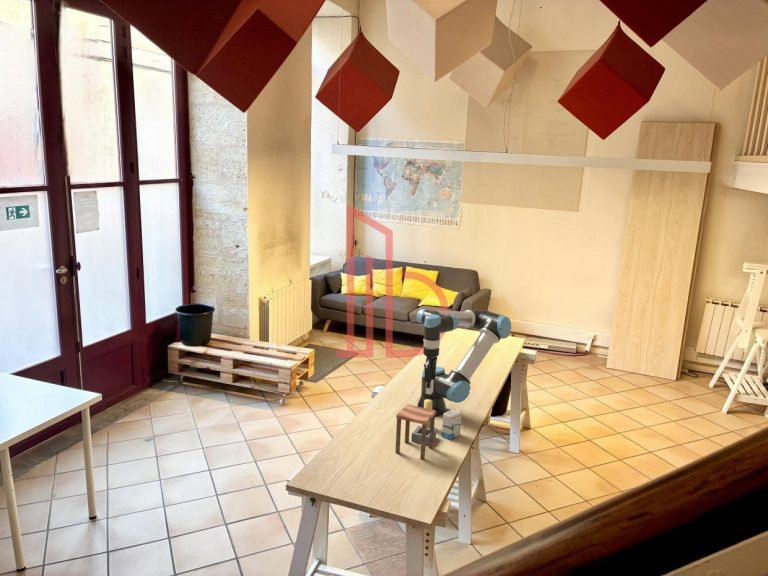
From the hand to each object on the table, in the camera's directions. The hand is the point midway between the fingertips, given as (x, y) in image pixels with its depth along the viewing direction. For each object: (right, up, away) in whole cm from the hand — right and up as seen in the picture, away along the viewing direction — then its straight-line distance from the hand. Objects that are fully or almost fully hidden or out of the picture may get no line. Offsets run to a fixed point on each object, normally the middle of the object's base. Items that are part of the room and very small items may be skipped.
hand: (429, 392), depth 291 cm
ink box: (+10, -20, -3) cm, 23 cm away
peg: (-1, -18, +4) cm, 18 cm away
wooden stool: (-8, -23, -19) cm, 31 cm away
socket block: (-3, -21, -8) cm, 22 cm away
